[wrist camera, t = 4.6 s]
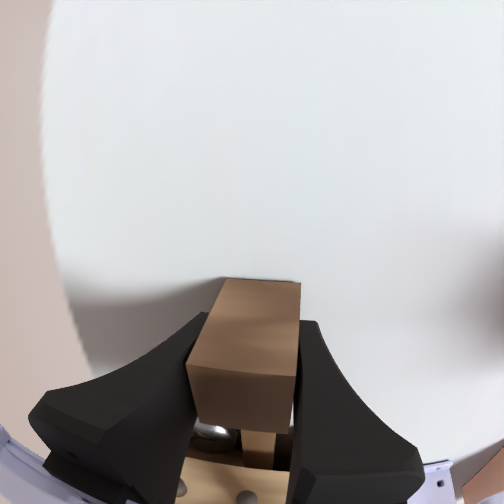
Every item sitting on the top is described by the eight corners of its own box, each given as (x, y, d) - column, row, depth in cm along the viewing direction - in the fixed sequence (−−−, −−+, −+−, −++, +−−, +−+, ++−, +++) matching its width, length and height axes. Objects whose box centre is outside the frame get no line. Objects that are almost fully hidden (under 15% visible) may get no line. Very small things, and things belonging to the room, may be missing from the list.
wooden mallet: (300, 282, 12) (295, 375, 7) (281, 464, 18) (273, 521, 14) (140, 271, 13) (76, 339, 8) (190, 451, 19) (172, 503, 15)
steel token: (237, 413, 17) (233, 428, 16) (239, 444, 18) (236, 457, 17) (176, 403, 17) (170, 416, 16) (186, 435, 19) (181, 447, 18)
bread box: (322, 417, 15) (316, 542, 8) (303, 480, 19) (294, 562, 12) (152, 394, 17) (99, 495, 10) (179, 462, 21) (151, 537, 13)
